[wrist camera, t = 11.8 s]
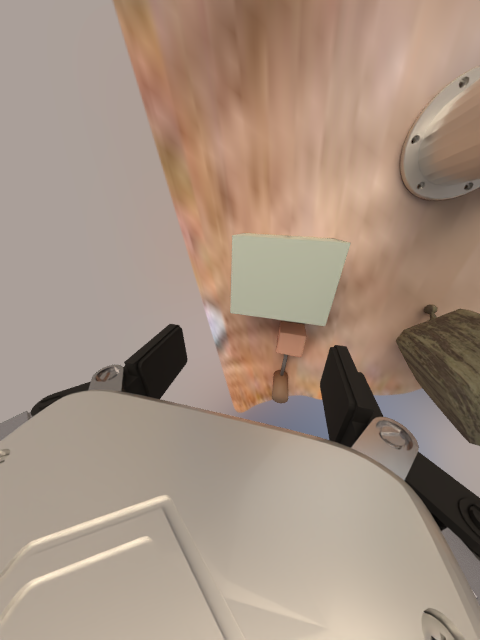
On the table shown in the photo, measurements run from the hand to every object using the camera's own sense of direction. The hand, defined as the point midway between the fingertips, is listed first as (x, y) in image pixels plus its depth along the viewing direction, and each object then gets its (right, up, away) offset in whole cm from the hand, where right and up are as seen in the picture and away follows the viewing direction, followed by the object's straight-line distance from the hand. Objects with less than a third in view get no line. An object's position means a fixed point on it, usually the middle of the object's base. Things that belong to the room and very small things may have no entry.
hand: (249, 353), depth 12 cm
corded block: (+10, -6, +32) cm, 34 cm away
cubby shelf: (+8, +12, +24) cm, 27 cm away
